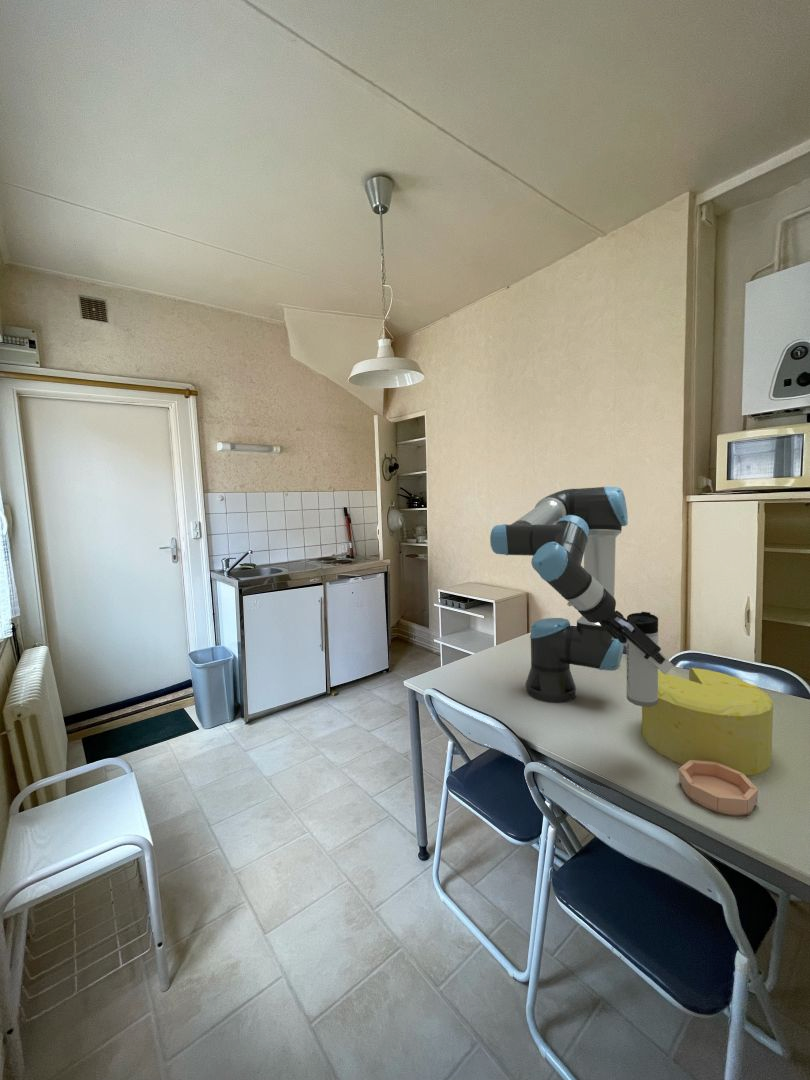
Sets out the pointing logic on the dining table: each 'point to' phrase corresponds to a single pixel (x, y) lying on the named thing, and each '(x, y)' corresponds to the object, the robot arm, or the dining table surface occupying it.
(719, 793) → the bowl
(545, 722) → the dining table surface
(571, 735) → the dining table surface
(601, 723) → the dining table surface
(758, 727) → the cheese
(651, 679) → the travel mug
